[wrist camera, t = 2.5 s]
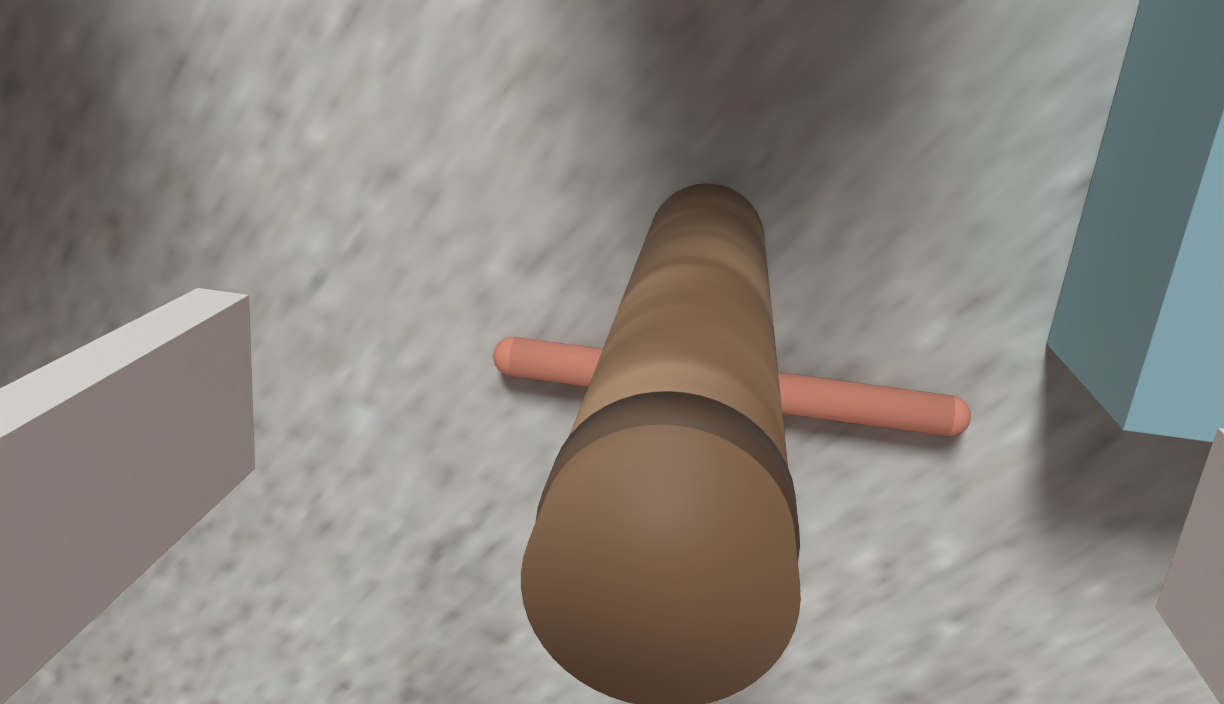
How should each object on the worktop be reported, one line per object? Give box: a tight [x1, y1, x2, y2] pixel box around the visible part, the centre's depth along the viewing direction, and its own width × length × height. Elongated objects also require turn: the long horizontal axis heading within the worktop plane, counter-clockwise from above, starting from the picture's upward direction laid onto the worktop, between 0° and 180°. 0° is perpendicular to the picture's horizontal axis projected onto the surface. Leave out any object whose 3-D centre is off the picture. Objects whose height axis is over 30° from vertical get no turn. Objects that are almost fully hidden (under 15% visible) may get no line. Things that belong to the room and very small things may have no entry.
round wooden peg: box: [521, 184, 801, 704], centre depth 17 cm, size 3×3×15 cm
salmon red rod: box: [493, 337, 971, 436], centre depth 24 cm, size 12×1×1 cm, turn 84°
